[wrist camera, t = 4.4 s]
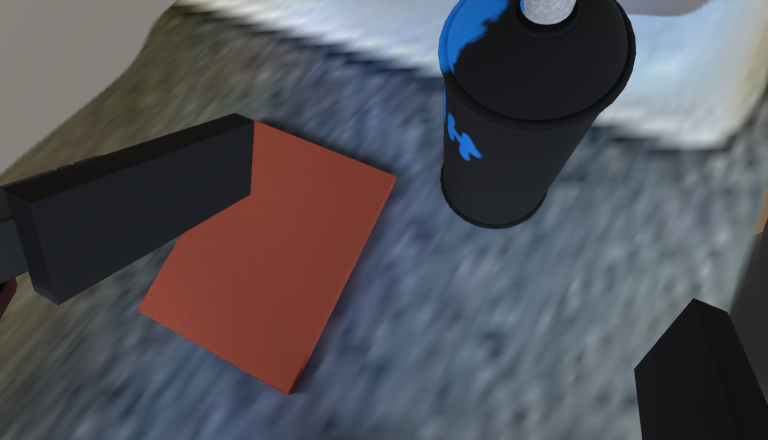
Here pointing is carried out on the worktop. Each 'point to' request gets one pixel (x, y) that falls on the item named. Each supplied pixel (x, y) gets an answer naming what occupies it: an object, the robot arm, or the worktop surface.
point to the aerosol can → (523, 97)
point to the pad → (272, 258)
